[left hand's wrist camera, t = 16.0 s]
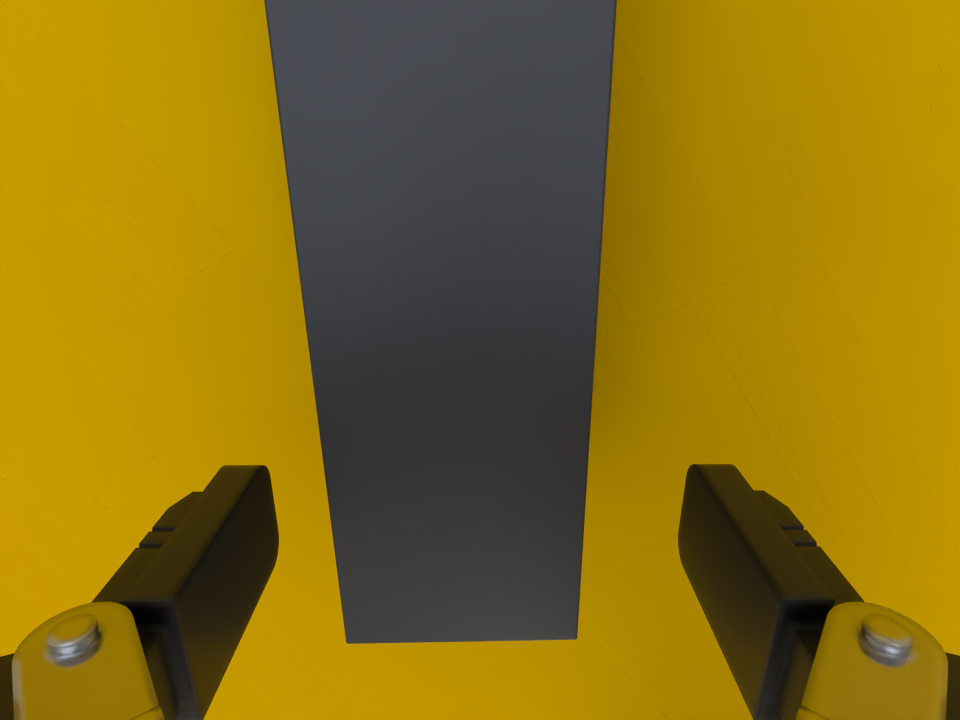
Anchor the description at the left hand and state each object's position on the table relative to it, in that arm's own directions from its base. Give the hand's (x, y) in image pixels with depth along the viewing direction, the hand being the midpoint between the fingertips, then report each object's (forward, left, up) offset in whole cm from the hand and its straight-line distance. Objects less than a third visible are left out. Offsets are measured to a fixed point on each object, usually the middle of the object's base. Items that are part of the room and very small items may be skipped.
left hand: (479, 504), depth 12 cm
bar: (+9, -3, -9) cm, 13 cm away
